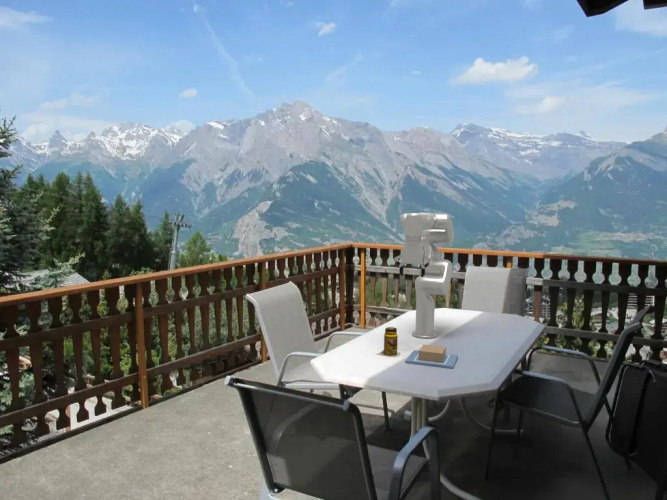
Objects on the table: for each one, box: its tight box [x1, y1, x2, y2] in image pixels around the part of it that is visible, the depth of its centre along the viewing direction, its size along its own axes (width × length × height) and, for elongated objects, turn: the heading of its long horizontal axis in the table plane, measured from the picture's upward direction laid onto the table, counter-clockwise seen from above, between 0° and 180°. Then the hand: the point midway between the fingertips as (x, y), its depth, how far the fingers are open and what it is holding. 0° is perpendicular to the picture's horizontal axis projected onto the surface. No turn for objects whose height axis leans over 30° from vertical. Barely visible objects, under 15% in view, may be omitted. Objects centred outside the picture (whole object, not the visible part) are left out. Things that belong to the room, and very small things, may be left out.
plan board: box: [404, 344, 459, 370], centre depth 221 cm, size 18×20×5 cm
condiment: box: [377, 326, 401, 358], centre depth 230 cm, size 7×8×12 cm
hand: (412, 276), depth 237 cm, fingers open, 9 cm apart
